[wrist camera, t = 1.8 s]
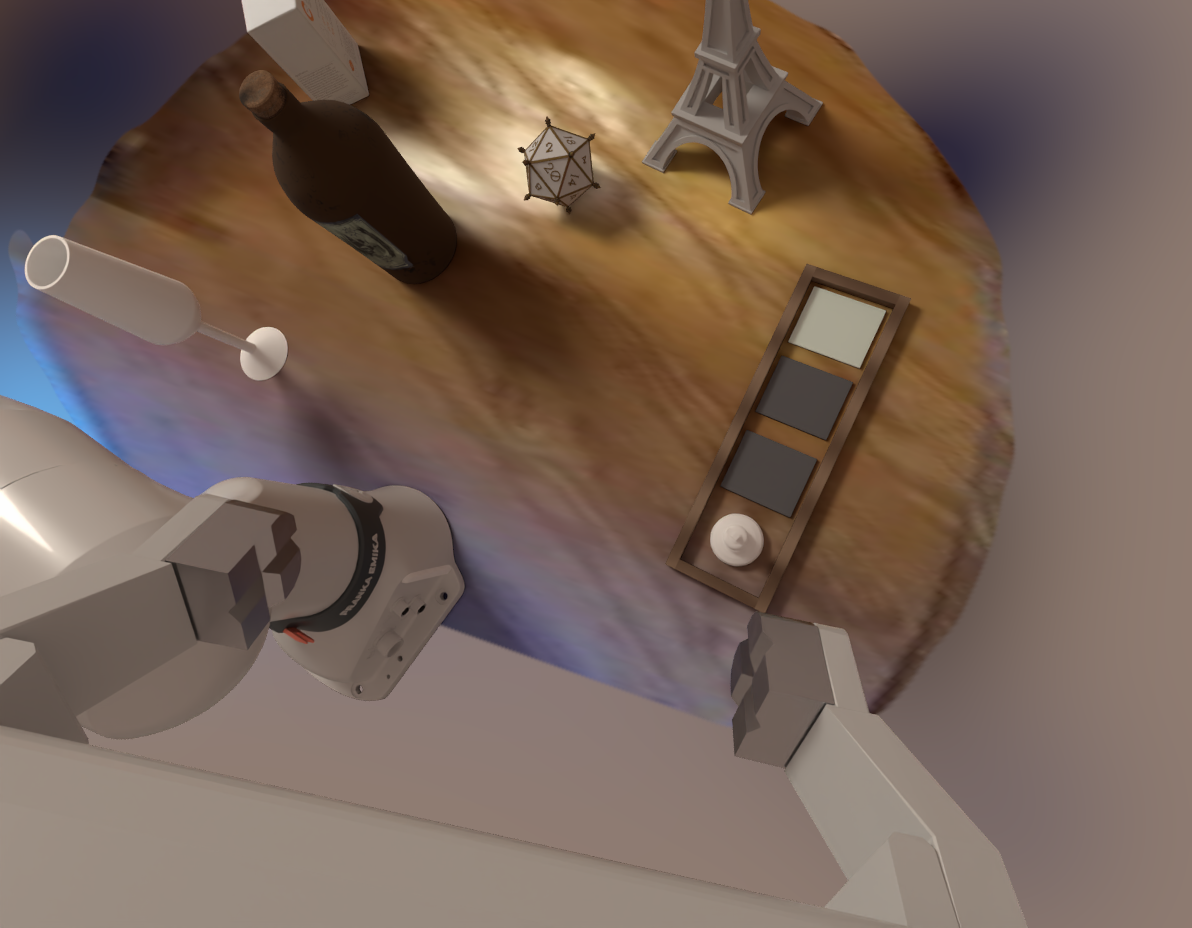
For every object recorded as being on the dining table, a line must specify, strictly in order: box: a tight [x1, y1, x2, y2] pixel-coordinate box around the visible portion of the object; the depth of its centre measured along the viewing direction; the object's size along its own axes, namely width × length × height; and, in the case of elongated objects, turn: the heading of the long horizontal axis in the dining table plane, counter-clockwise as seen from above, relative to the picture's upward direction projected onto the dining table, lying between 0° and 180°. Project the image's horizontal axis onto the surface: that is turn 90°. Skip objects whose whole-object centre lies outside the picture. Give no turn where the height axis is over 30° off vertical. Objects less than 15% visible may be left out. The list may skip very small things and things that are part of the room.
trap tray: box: [665, 264, 911, 613], centre depth 58 cm, size 32×10×1 cm, turn 153°
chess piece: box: [710, 514, 764, 566], centre depth 54 cm, size 5×5×10 cm
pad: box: [788, 286, 886, 368], centre depth 59 cm, size 6×7×1 cm
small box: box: [242, 0, 369, 105], centre depth 71 cm, size 8×6×13 cm
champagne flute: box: [25, 235, 288, 380], centre depth 63 cm, size 7×7×24 cm
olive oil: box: [239, 70, 457, 284], centre depth 59 cm, size 11×11×25 cm
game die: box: [518, 117, 601, 214], centre depth 64 cm, size 9×8×10 cm
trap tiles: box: [721, 356, 853, 517], centre depth 59 cm, size 14×7×1 cm, turn 153°
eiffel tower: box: [642, 0, 823, 214], centre depth 50 cm, size 13×13×30 cm
